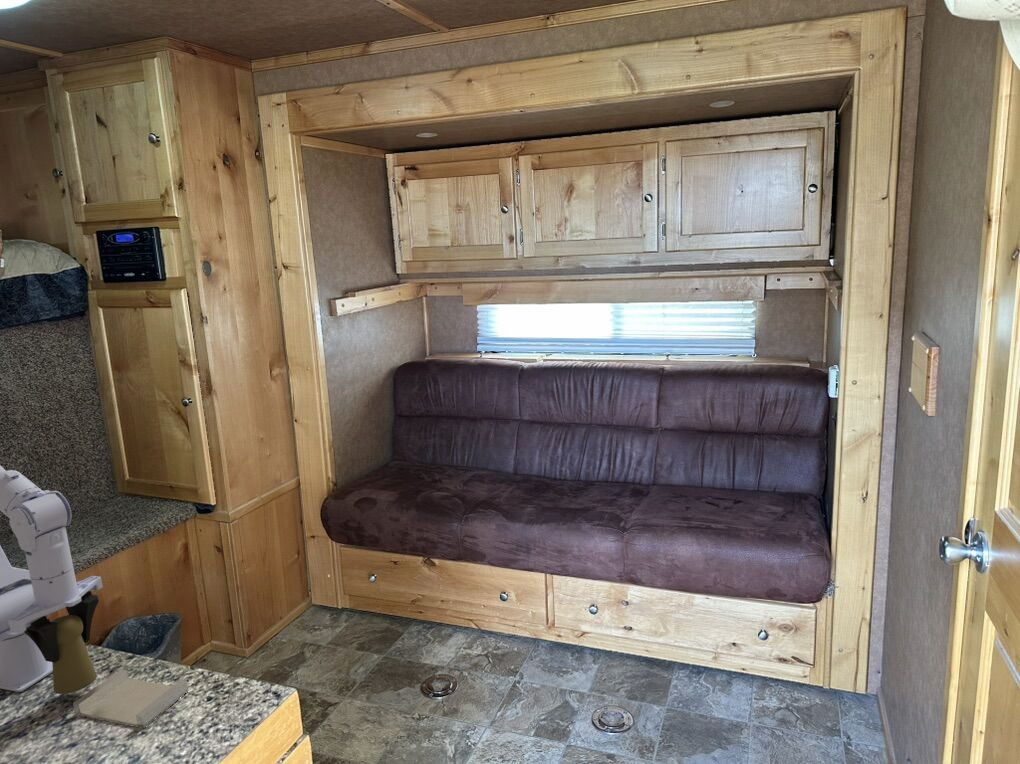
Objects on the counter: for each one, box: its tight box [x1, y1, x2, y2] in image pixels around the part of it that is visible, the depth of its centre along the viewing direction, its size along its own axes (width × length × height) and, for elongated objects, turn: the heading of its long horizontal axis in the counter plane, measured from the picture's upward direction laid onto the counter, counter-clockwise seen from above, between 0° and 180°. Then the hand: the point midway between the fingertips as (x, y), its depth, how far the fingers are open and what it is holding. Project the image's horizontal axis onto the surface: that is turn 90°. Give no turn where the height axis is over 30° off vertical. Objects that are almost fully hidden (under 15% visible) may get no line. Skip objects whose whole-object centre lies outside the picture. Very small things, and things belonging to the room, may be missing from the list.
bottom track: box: [72, 669, 190, 729], centre depth 113 cm, size 14×9×2 cm, turn 71°
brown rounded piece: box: [50, 614, 98, 695], centre depth 115 cm, size 6×6×11 cm
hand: (68, 650), depth 115 cm, fingers closed on brown rounded piece, 5 cm apart
